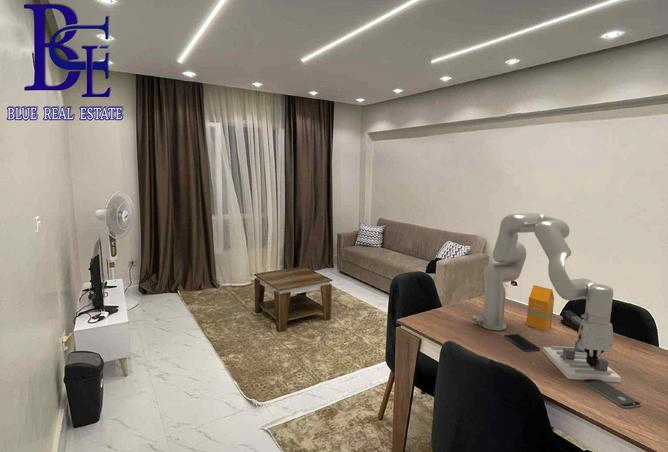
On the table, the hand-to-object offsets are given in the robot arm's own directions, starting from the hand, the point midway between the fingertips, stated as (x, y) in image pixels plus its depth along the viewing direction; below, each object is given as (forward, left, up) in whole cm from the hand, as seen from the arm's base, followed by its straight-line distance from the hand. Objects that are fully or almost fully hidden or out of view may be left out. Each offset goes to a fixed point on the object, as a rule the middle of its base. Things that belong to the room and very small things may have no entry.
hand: (591, 364), depth 136 cm
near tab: (+3, 0, -2) cm, 4 cm away
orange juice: (0, +45, -5) cm, 45 cm away
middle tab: (-5, +7, -2) cm, 9 cm away
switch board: (-1, +7, -4) cm, 8 cm away
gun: (+18, +42, -5) cm, 46 cm away
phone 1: (-16, +24, -5) cm, 29 cm away
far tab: (+3, +14, -2) cm, 15 cm away
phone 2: (0, -11, -5) cm, 12 cm away
